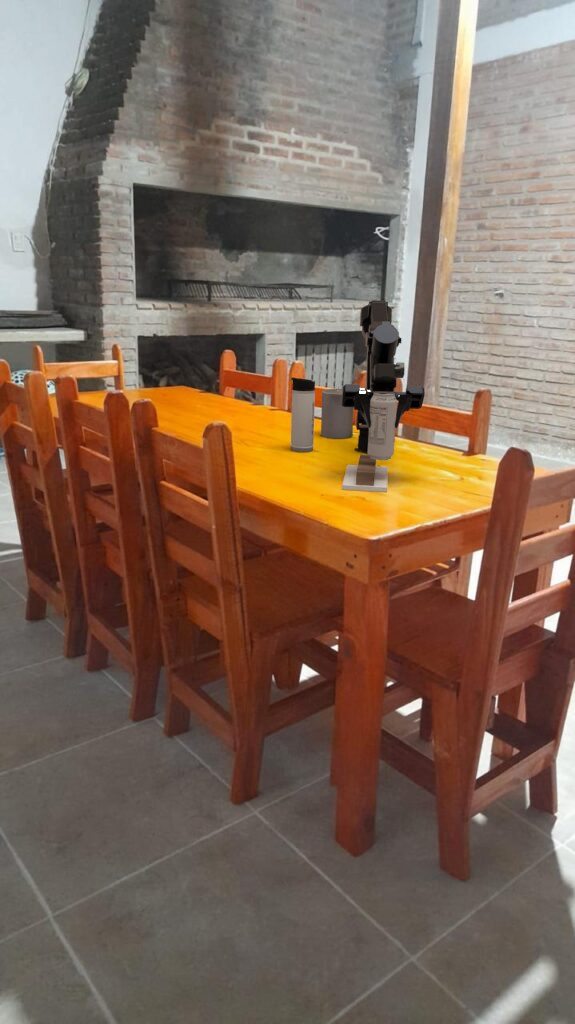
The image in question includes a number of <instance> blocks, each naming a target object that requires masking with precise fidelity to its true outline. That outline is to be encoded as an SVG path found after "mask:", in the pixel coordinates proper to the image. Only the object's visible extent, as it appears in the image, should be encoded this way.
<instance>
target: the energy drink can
mask: <svg viewBox="0 0 575 1024" xmlns="http://www.w3.org/2000/svg"><path fill="white" fill-rule="evenodd" d="M397 406H398V401H397V400H396V398H395V393H392V392H374V395H373V397H372V398H371V400H370V419H371V425H370V427H369V437H368V453H367V455H370V458H371V459H374V460H376V461H389V460H391V459H392V456H395V455H394V453H395V440H396V428H395V425H396V412H397Z"/></svg>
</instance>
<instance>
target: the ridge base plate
mask: <svg viewBox="0 0 575 1024" xmlns="http://www.w3.org/2000/svg"><path fill="white" fill-rule="evenodd" d="M357 467H358V464H347V467H346V469H345V474H344V477H343V480H342V481H343V482H342V484H341V485H342V486H341V489H342V490H344V491H345V490H346V491H347V490H348V491H358V492H359V491H361V492H362V491H363V492H365V491H366V492H376V493H378V492H379V493H381V492H382V493H388V476H389V475H388V473H389V471H388V469H389V467H388V466H383V465H382V466H381V465H380V466H378V465H376V469H375V479H374V486H368V485H356V473H357Z"/></svg>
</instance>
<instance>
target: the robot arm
mask: <svg viewBox="0 0 575 1024" xmlns="http://www.w3.org/2000/svg"><path fill="white" fill-rule="evenodd" d="M392 315H393V308H392V307H391V306H389V302H388V301H386V300H370V301H368V304H367V305H365V306H363V307H361V309H360V313H359V327H361V335H362V336H363V339H364V341H365V348H366V372H365V373H366V377H365V387H363V388H361V384H357V383H355V384H354V383H353V384H352V383H345V384H344V385H343V386H342V389H343V391H342V406H343V407H353V410H355V411H356V419H355V420H356V422H355V428H356V431H359V434H358V438H357V440H358V441H357V447H355V448H354V450H353V451H356V452H357V451H358V452H362V453H364V454H368V437H369V427H370V425H371V419H370V400H371V398H372V397H373V395H374V392H392V393H395V398H396V400H397V411H396V425H395V429H398V428H399V424H400V422H401V419H402V417H403V415H404V413H405V412H409V411H410V410H420V409H422V407H423V403H424V399H425V394H426V393H425V388H424V387H423V386H422V385H406V389H405V391H396V388H397V379H403V378H404V376H405V371H406V370H405V369H406V368H405V362H400V361H399V362H398V361H397V362H396V363H395V358H394V357H395V355H396V353H397V349H398V347H399V345H400V344H402V337H400V332H399V330H398V329H397V328H396V327H395V325H393V324H392V321H393V319H392V318H393V316H392Z"/></svg>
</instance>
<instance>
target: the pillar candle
mask: <svg viewBox="0 0 575 1024" xmlns="http://www.w3.org/2000/svg"><path fill="white" fill-rule="evenodd" d="M342 391H343V388H340V387H339V386H338V387H337V388H332V389H330V388H329V389H323V390H322V392H321V423H320V424H321V425H320V436H321V437H322V438H326V439H330V438H331V440H337V439H338V440H339V439H340V440H342V439H343V440H344V439H345V438H346V439H351V438H352V437H353V435H354V434H353V433H354V432H353V431H354V407H343V406H342Z"/></svg>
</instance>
